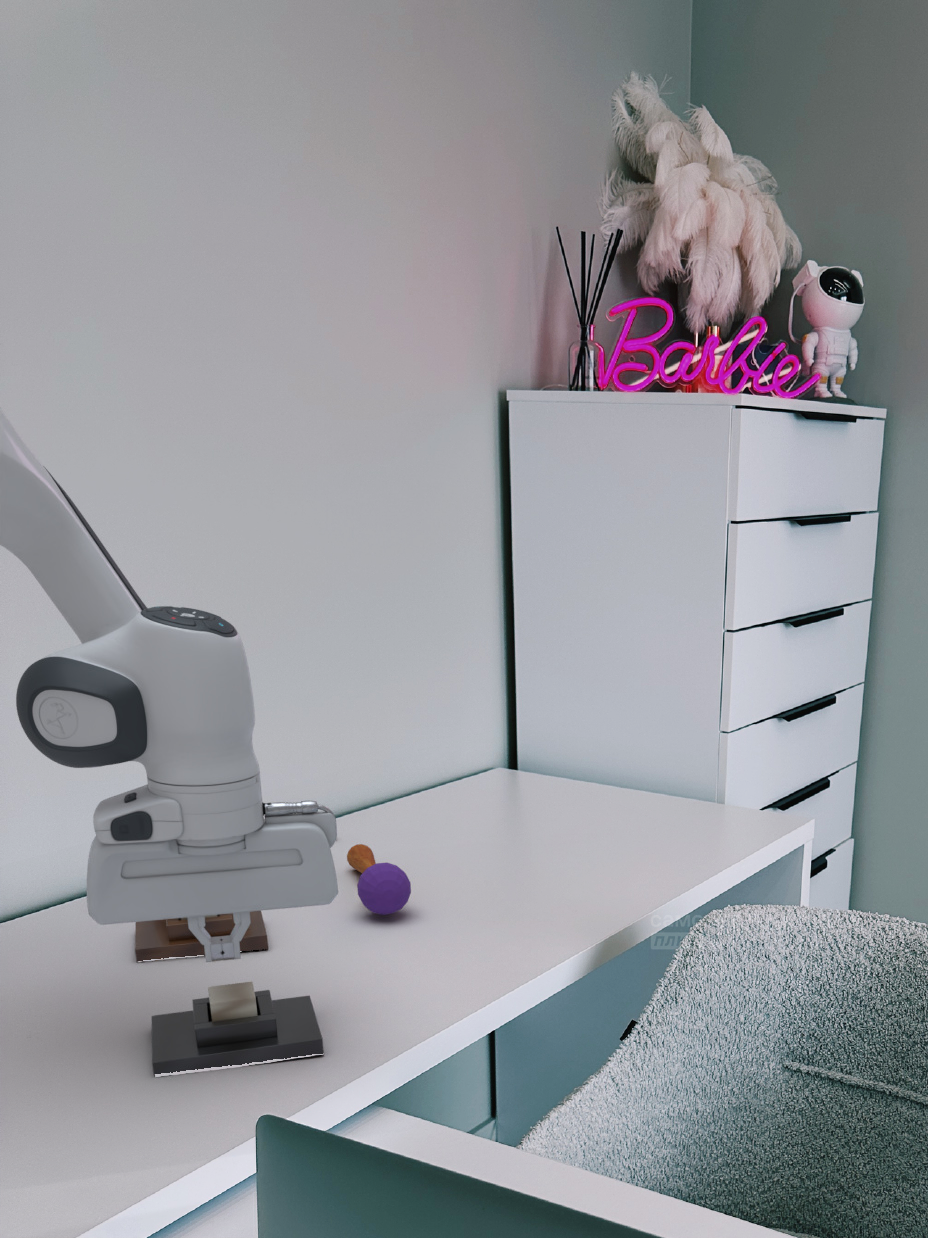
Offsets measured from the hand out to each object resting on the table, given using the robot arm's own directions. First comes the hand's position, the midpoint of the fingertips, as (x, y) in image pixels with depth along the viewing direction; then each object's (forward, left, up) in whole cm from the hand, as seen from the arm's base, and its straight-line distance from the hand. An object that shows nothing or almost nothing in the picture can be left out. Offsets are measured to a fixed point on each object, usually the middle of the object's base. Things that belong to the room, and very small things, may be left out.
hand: (223, 958), depth 110 cm
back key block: (-2, +27, -8) cm, 28 cm away
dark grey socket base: (0, 0, -8) cm, 8 cm away
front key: (0, 0, -5) cm, 5 cm away
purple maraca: (+18, +37, -9) cm, 42 cm away
